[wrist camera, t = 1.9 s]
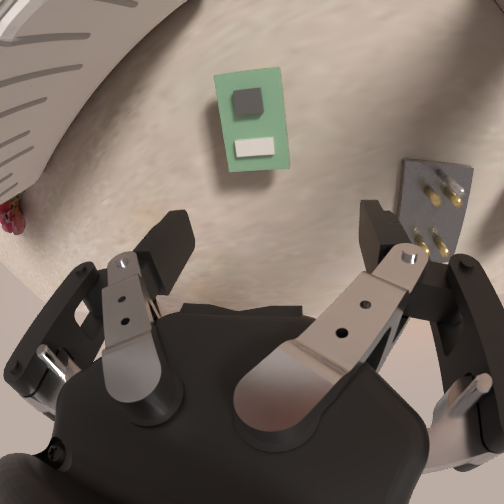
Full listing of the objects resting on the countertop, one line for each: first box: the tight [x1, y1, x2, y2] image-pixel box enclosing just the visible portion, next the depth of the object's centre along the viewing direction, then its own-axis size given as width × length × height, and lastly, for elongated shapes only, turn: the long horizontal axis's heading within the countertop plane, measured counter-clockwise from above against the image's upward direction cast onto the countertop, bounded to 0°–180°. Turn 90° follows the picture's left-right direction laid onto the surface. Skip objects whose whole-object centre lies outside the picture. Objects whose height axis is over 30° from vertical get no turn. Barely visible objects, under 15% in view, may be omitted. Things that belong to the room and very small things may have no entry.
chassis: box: [397, 159, 474, 262], centre depth 27 cm, size 14×10×6 cm
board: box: [214, 67, 290, 172], centre depth 24 cm, size 10×6×2 cm, turn 7°
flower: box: [0, 189, 26, 235], centre depth 38 cm, size 11×10×10 cm
